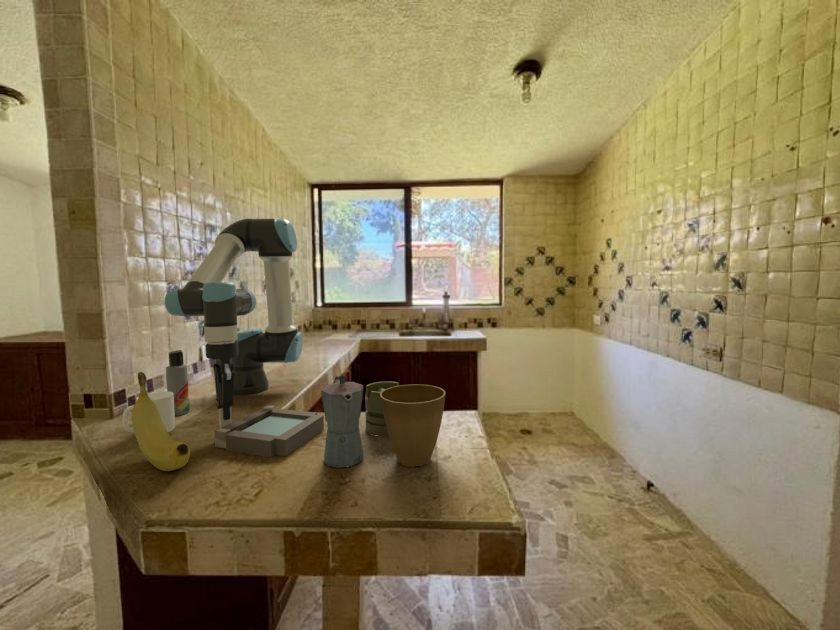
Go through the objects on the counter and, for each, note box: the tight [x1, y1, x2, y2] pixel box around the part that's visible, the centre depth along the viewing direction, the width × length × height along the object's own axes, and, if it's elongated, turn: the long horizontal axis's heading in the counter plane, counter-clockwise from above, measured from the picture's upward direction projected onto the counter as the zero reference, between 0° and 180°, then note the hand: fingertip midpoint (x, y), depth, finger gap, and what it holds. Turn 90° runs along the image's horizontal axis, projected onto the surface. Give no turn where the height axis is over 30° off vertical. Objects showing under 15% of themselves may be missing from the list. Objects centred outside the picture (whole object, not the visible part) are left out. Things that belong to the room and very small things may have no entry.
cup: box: [121, 391, 176, 434], centre depth 101 cm, size 8×12×10 cm
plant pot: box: [380, 383, 446, 468], centre depth 85 cm, size 15×15×16 cm
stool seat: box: [225, 408, 325, 458], centre depth 98 cm, size 20×16×4 cm
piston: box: [364, 381, 400, 437], centre depth 104 cm, size 11×12×11 cm
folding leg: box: [214, 405, 275, 449], centre depth 101 cm, size 19×3×4 cm, turn 164°
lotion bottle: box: [165, 349, 190, 417], centre depth 117 cm, size 6×6×20 cm
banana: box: [131, 371, 191, 472], centre depth 83 cm, size 23×6×20 cm, turn 55°
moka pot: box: [320, 375, 364, 468], centre depth 85 cm, size 10×15×20 cm, turn 27°
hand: (226, 430), depth 97 cm, fingers closed
